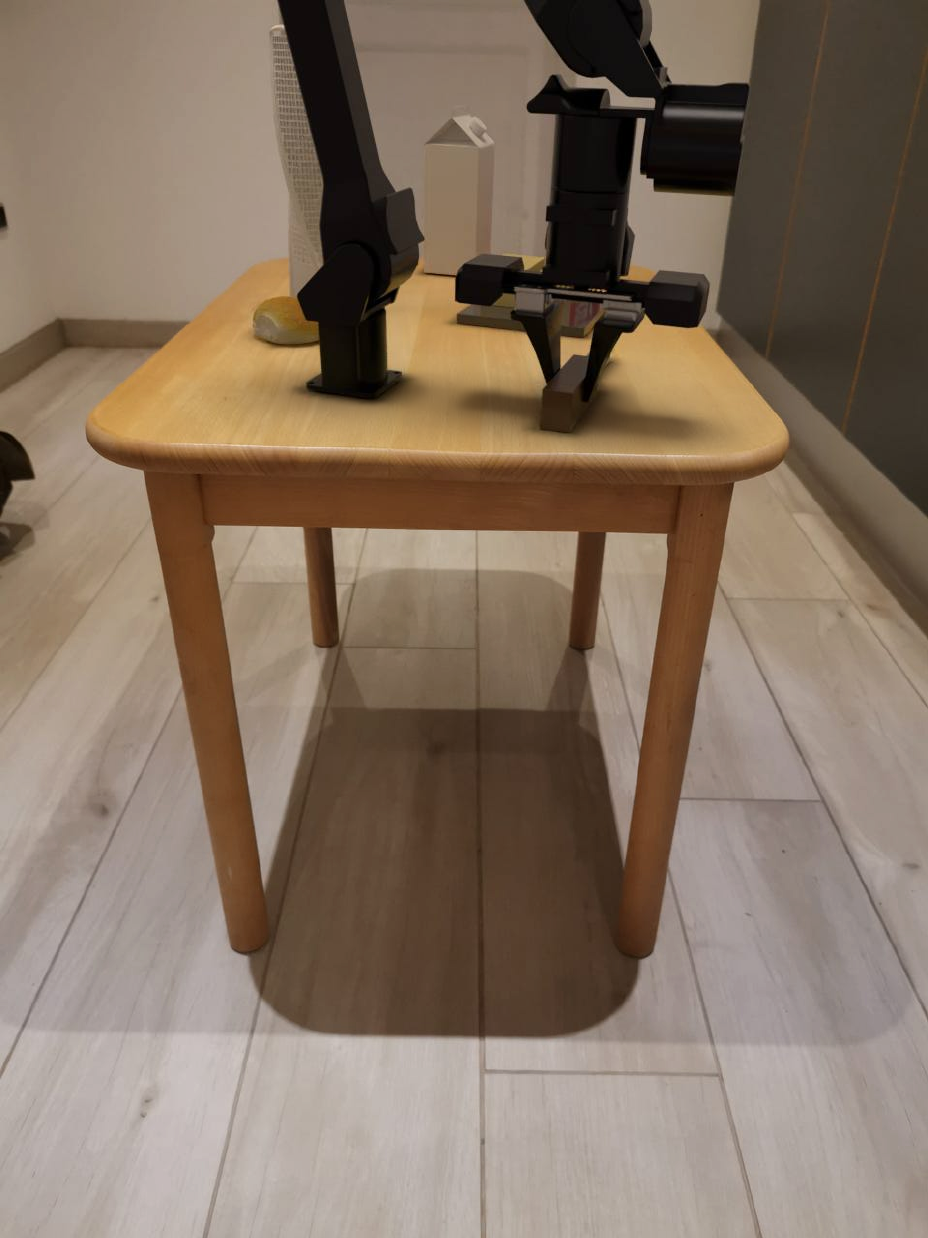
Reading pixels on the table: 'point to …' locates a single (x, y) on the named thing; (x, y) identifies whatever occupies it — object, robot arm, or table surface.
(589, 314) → the butter board
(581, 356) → the knife
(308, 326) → the bread roll
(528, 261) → the butter block
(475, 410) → the table surface
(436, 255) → the milk carton
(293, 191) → the skyscraper
